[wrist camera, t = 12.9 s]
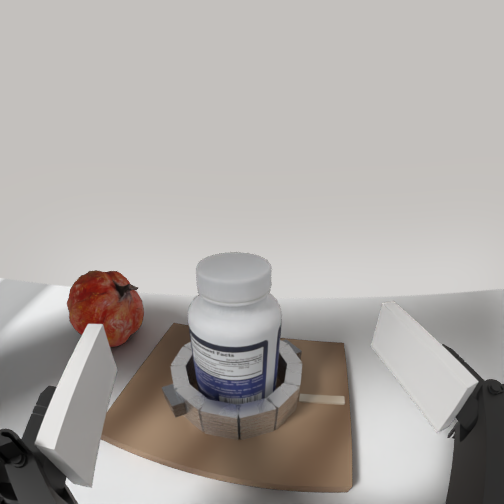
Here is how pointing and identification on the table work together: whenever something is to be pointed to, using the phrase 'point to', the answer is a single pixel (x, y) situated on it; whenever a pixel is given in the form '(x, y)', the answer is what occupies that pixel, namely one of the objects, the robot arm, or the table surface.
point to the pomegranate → (106, 305)
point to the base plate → (239, 451)
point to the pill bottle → (235, 328)
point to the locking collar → (231, 415)
